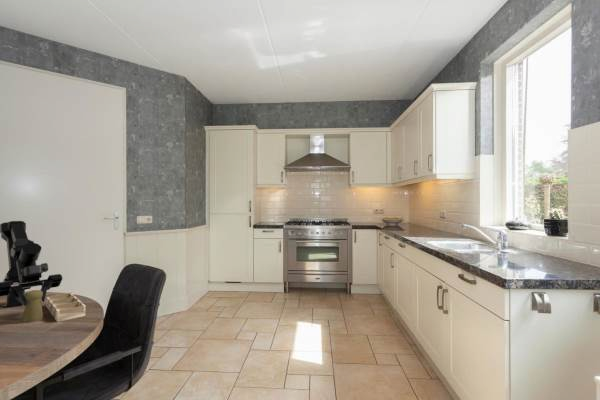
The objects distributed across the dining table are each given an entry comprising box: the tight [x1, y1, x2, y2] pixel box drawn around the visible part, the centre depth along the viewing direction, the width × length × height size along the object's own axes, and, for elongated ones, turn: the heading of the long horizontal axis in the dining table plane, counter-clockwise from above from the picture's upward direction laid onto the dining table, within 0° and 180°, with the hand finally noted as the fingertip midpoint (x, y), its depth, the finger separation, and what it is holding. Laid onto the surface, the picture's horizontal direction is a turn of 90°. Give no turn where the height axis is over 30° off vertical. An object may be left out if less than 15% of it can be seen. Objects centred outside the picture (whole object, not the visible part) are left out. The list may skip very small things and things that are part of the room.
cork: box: [21, 289, 44, 324], centre depth 112 cm, size 6×6×11 cm
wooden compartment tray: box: [45, 292, 86, 323], centre depth 122 cm, size 25×9×4 cm, turn 48°
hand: (34, 303), depth 111 cm, fingers closed on cork, 5 cm apart
